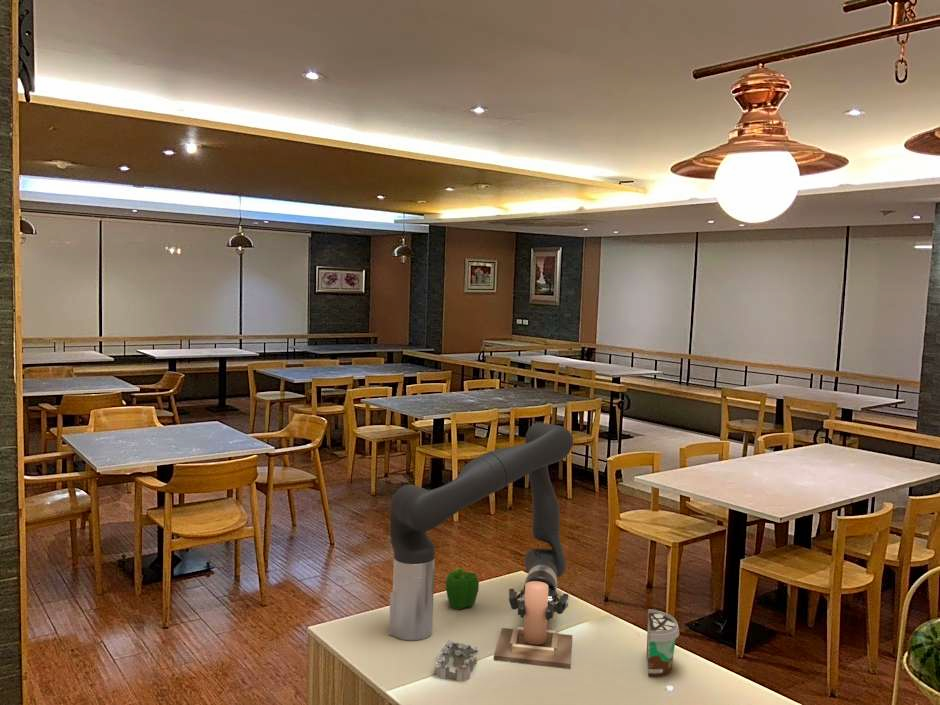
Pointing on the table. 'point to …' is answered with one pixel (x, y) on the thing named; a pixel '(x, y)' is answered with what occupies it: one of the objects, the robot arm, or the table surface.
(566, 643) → the board
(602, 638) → the table surface
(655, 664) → the food container
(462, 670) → the egg carton
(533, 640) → the terracotta pin
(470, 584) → the bell pepper
